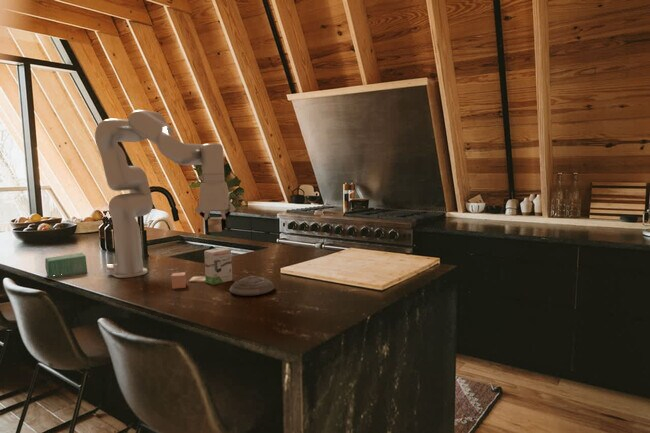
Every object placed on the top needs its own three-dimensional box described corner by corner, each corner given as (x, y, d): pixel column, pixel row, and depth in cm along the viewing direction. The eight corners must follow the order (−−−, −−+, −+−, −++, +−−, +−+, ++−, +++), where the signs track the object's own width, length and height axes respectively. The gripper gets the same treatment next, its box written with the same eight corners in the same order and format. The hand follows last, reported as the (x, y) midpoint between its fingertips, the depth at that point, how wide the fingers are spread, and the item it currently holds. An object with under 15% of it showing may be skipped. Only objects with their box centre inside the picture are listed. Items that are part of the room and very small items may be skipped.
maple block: (208, 231, 165) (207, 219, 165) (211, 229, 170) (210, 217, 169) (221, 231, 165) (220, 218, 165) (223, 229, 170) (223, 217, 169)
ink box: (212, 285, 165) (210, 252, 164) (205, 282, 168) (203, 250, 167) (233, 280, 171) (231, 248, 170) (225, 278, 175) (223, 247, 173)
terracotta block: (172, 288, 162) (171, 276, 161) (172, 285, 166) (172, 273, 166) (185, 287, 163) (185, 275, 163) (186, 284, 167) (185, 272, 167)
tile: (188, 282, 170) (188, 280, 170) (193, 278, 176) (193, 276, 176) (205, 281, 170) (205, 280, 170) (209, 277, 176) (209, 276, 176)
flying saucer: (235, 286, 164) (234, 271, 163) (277, 285, 163) (277, 270, 163) (224, 299, 149) (223, 282, 148) (271, 298, 148) (270, 281, 148)
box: (46, 275, 185) (44, 257, 185) (83, 270, 194) (82, 252, 193) (49, 279, 180) (47, 260, 179) (87, 273, 188) (86, 255, 187)
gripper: (186, 180, 161) (189, 232, 164) (235, 178, 161) (238, 231, 164) (192, 179, 169) (195, 229, 171) (239, 177, 169) (241, 227, 171)
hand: (216, 229), depth 167 cm, fingers closed on maple block, 4 cm apart
